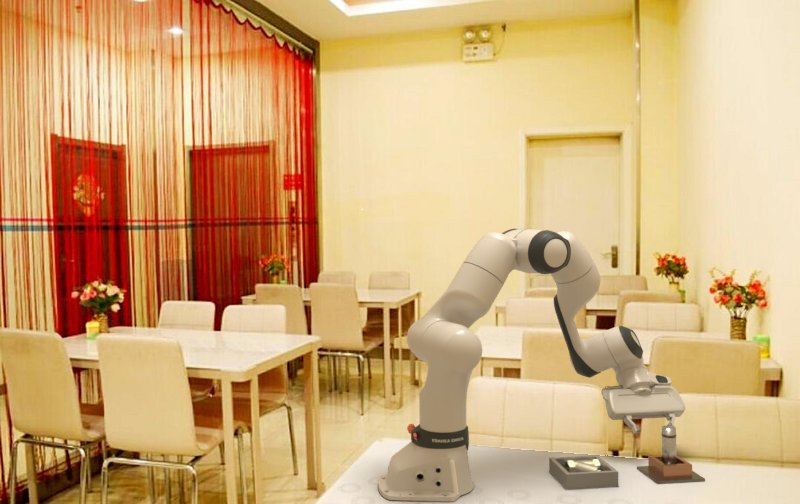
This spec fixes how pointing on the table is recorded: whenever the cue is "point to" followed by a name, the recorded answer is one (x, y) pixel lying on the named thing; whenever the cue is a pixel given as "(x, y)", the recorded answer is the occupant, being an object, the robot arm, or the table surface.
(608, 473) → the parts corral
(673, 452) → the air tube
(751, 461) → the table surface
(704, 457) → the table surface
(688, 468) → the collar
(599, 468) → the pipe fitting
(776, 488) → the table surface
